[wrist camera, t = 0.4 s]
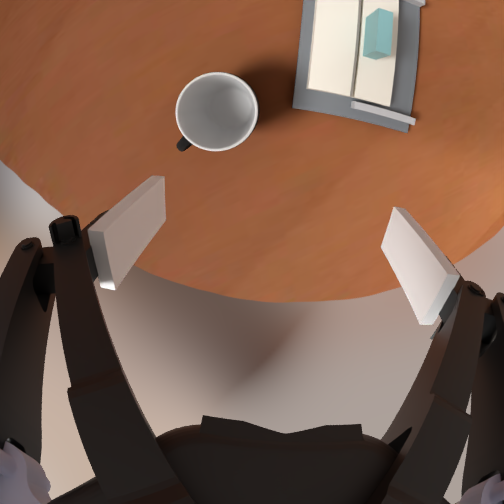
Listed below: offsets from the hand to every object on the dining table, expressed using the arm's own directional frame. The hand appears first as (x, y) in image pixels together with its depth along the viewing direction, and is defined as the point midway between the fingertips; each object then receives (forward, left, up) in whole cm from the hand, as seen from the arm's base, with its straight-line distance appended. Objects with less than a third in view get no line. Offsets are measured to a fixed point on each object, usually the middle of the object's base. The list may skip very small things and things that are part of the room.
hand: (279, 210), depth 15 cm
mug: (-3, -8, -26) cm, 27 cm away
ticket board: (-17, +10, -26) cm, 32 cm away
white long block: (-17, +12, -24) cm, 32 cm away
